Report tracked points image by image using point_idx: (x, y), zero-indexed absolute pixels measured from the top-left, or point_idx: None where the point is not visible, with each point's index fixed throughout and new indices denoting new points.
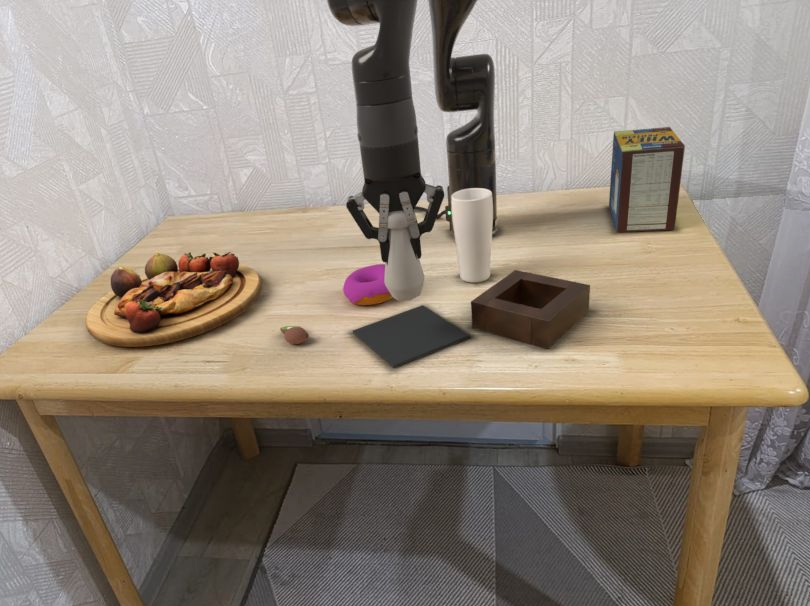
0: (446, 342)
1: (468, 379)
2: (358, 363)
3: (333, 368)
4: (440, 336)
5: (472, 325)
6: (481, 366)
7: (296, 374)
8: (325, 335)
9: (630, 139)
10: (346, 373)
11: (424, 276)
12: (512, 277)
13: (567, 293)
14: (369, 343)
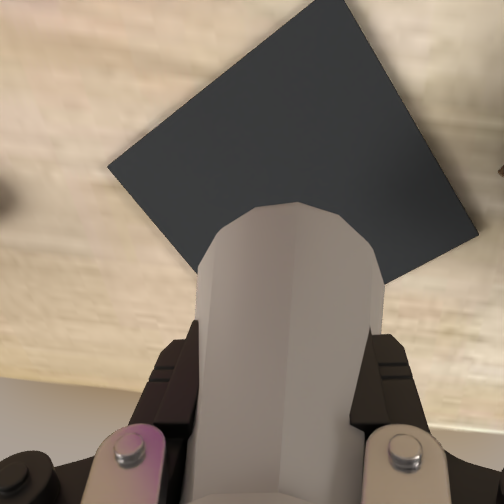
0: (402, 267)
1: (435, 399)
2: (170, 315)
3: (115, 327)
4: (388, 233)
5: (502, 175)
6: (476, 359)
7: (36, 339)
8: (28, 166)
9: None
10: (152, 349)
11: (384, 288)
12: None
13: None
14: (179, 246)
